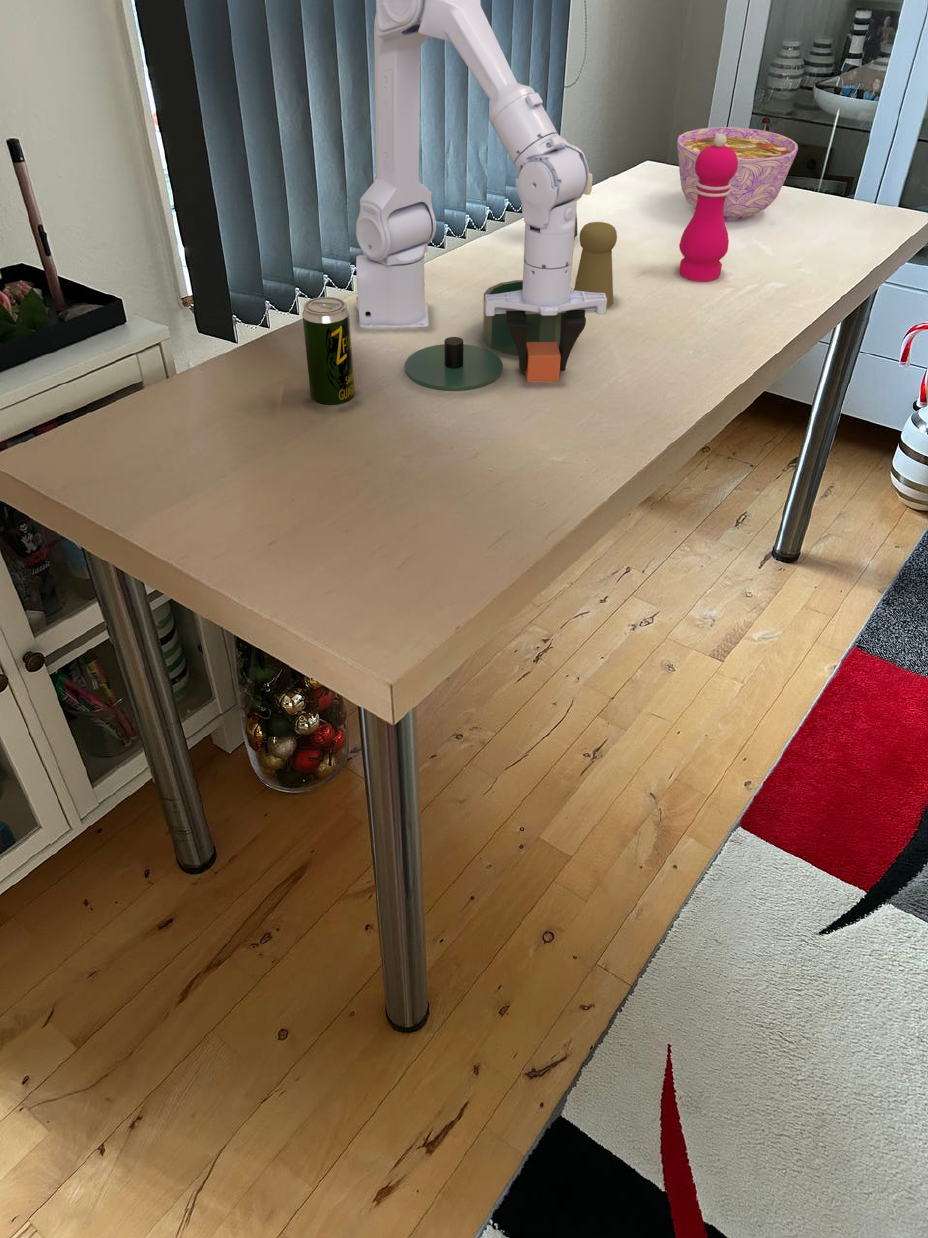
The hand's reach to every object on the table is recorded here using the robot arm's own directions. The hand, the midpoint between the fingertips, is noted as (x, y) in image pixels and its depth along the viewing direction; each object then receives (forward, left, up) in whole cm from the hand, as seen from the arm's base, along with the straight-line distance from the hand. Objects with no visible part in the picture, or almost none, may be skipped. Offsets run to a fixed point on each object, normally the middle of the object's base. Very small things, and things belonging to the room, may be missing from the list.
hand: (541, 367), depth 126 cm
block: (0, 0, -1) cm, 1 cm away
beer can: (-26, -5, -2) cm, 27 cm away
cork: (+10, +24, -2) cm, 26 cm away
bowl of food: (+39, +62, -2) cm, 73 cm away
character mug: (+8, +50, -2) cm, 51 cm away
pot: (-1, +11, -1) cm, 11 cm away
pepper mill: (+28, +34, -2) cm, 44 cm away
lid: (-11, +2, -1) cm, 11 cm away
